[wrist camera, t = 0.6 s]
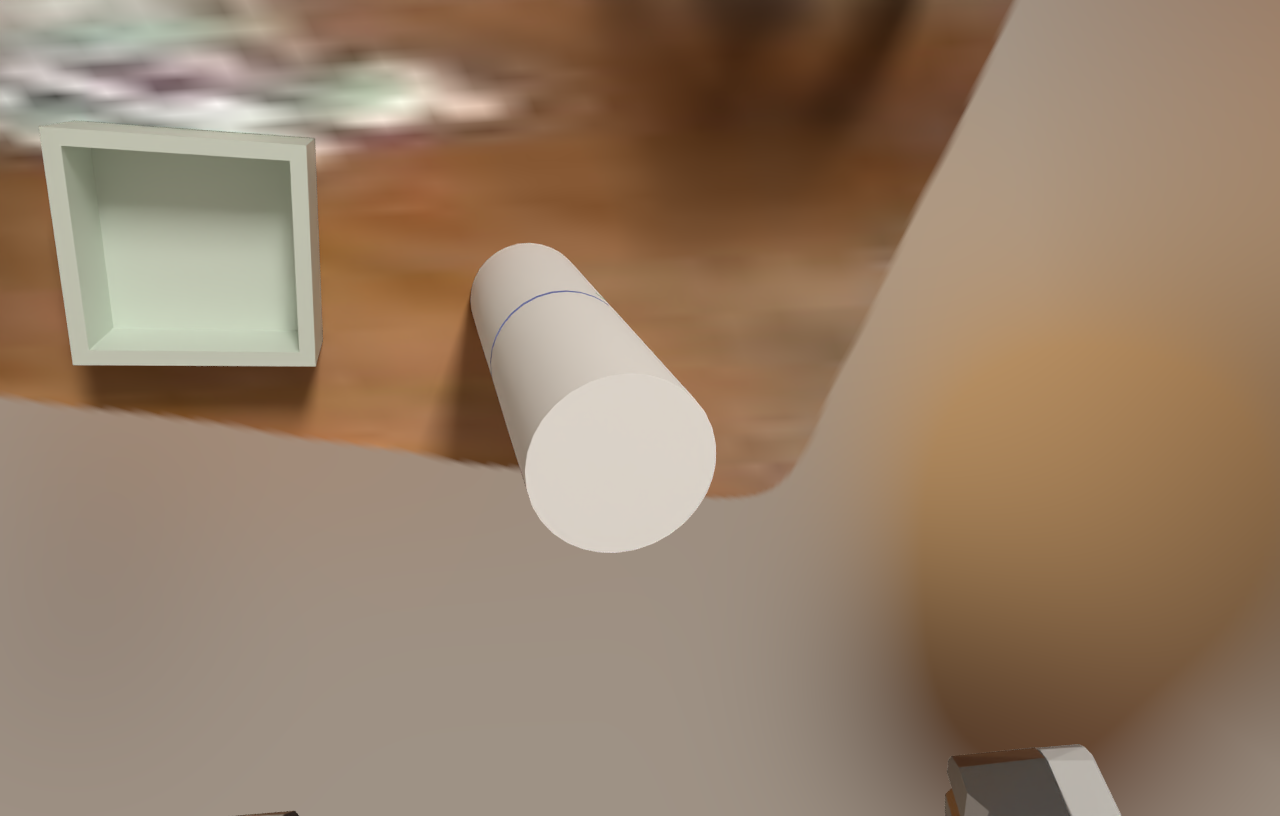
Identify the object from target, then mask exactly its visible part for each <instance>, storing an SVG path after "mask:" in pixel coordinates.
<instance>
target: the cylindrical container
mask: <svg viewBox="0 0 1280 816" xmlns="http://www.w3.org/2000/svg"><path fill="white" fill-rule="evenodd" d="M470 301H471V311H472V314H473V318H474V321H475V324H476V328H477V331H478V334H479V338H480V341H481V344H482V347H483V351H484V354H485V357H486V360H487V363H488V366H489V369H490V373H491V376H492V379H493V382H494V386H495V389H496V392H497V396H498V399H499V402H500V406H501V409H502V412H503V416H504V419H505V422H506V425H507V429H508V432H509V435H510V438H511V442H512V445H513V448H514V451H515V454H516V457H517V461H518V464H519V467H520V470H521V473H522V476H523V479H524V483H525V486H526V489H527V492H528V495H529V499H530V502H531V504H532V507H533V509H534V510H535V512H536V513H537V515H538V517H539V518H540V520H541V521H542V523H543V524H544V525H545V526H546V527H547V528H548V529H549V530H550V531H551V532H552V533H553V534H555V535H556V536H558V537H559V538H561V539H562V540H564V541H565V542H567V543H569V544H571V545H574V546H577V547H579V548H581V549H585V550H590V551H595V552H607V553H610V552H612V553H618V552H624V551H630V550H636V549H639V548H642V547H644V546H648V545H650V544H653V543H655V542H657V541H659V540H661V539H662V538H664V537H666V536H668V535H670V534H671V533H672V532H673V531H675V530H676V529H677V528H678V527H680V526H681V525H682V524H683V523H685V522H686V521H687V519H688V518H689V517H690V516H691V514H693V513H694V512H695V510H696V509H697V508H698V506H699V505H700V503H701V502H702V500H703V498H704V497H705V495H706V493H707V491H708V488H709V486H710V483H711V481H712V478H713V473H714V468H715V464H716V443H715V439H714V434H713V429H712V426H711V424H710V422H709V420H708V418H707V416H706V413H705V411H704V410H703V409H702V408H701V406H700V405H699V404H698V403H697V401H696V400H695V399H694V398H693V397H692V395H691V394H690V393H689V392H688V391H687V390H686V389H685V388H684V387H683V385H682V384H681V383H680V382H679V381H678V380H677V379H676V378H675V377H674V375H673V374H672V373H671V372H670V371H669V370H668V369H667V368H666V367H665V366H664V364H663V363H662V362H661V361H660V360H659V359H658V358H657V357H656V356H655V354H654V353H653V352H652V351H651V350H650V349H649V348H648V347H647V346H646V344H645V343H644V342H643V341H642V340H641V339H640V338H639V337H638V336H637V335H636V333H635V332H634V331H633V330H632V329H631V328H630V327H629V326H628V325H627V323H626V322H625V321H624V320H623V319H622V318H621V317H620V316H619V315H618V314H617V312H616V311H615V310H614V309H613V308H612V307H611V306H610V305H609V304H608V303H607V302H606V300H605V299H604V298H603V297H602V296H601V295H600V294H599V293H598V292H597V291H596V289H595V288H594V287H593V286H592V285H591V284H590V283H589V282H588V281H587V279H586V278H585V277H584V276H583V275H582V274H581V273H580V272H579V271H578V269H577V268H576V267H575V266H574V265H573V264H572V263H571V262H570V261H569V259H567V258H566V257H565V256H564V255H563V254H561V253H560V252H558V251H556V250H554V249H553V248H551V247H548V246H544V245H541V244H534V243H523V244H516V245H513V246H509V247H506V248H504V249H502V250H500V251H498V252H496V253H495V254H494V255H493V256H491V257H490V258H489V259H488V260H487V261H486V262H485V263H484V264H483V266H482V267H481V268H480V269H479V271H478V273H477V275H476V277H475V279H474V282H473V285H472V289H471V298H470Z"/></svg>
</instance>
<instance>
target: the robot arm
mask: <svg viewBox="0 0 1280 816" xmlns="http://www.w3.org/2000/svg"><path fill="white" fill-rule="evenodd" d="M947 774H948V777H949V780H950V784H951V787H952V788H951V789H950V790H949V791H948V792H947V793H946V794H945V816H1121V814H1120V812H1119V810H1118V808H1117V805H1116V803H1115V801H1114V800H1113V797H1112V795H1111V793H1110V791H1109V789H1108V787H1107V785H1106V783H1105V781H1104V778H1103V776H1102V774H1101V772H1100V770H1099V768H1098V766H1097V764H1096V762H1095V760H1094V758H1093V756H1092V754H1091V753H1090V752H1089V751H1088V750H1087V749H1086V748H1085V747H1084V746H1081V745H1079V744H1077V745H1066V746H1054V747H1042V748H1025V749H1015V750H1005V751H996V752H986V753H976V754H967V755H957V756H951V757H950V758H949V760H948V768H947ZM238 816H299V815H298V814H297V813H296V811H286V812H274V813H262V814H250V815H238Z"/></svg>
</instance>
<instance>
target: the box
mask: <svg viewBox="0 0 1280 816" xmlns="http://www.w3.org/2000/svg"><path fill="white" fill-rule="evenodd" d="M39 133H40V140H41V147H42V154H43V161H44V168H45V175H46V181H47V188H48V195H49V202H50V209H51V216H52V223H53V230H54V237H55V244H56V250H57V257H58V264H59V271H60V278H61V285H62V292H63V299H64V306H65V313H66V319H67V326H68V333H69V340H70V347H71V354H72V361H73V365H144V366H316V364H317V360H318V356H319V353H320V349H321V345H322V342H323V332H322V306H321V280H320V255H319V229H318V204H317V178H316V153H315V138H304V137H291V136H277V135H263V134H250V133H236V132H222V131H209V130H195V129H181V128H168V127H154V126H140V125H127V124H113V123H100V122H86V121H70V122H64V123H57V124H51V125H45V126H39Z"/></svg>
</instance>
